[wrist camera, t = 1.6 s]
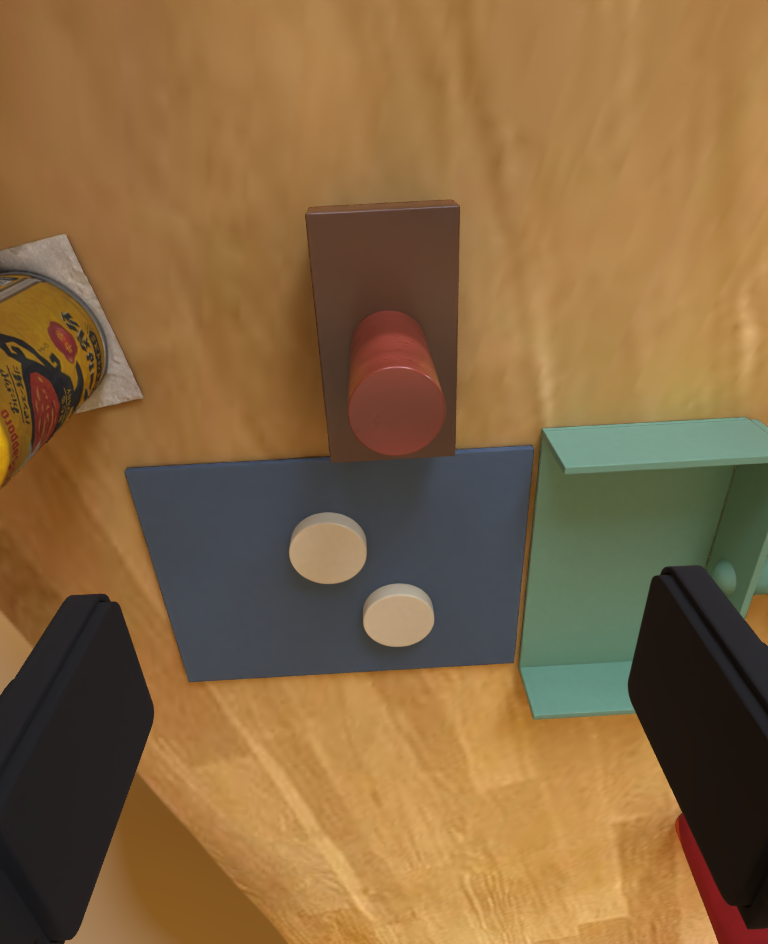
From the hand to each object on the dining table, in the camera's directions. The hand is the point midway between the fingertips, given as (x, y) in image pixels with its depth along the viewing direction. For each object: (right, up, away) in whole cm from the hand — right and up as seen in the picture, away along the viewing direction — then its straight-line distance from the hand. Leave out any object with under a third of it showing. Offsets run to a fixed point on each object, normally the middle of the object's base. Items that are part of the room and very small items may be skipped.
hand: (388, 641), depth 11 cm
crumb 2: (+1, -5, +24) cm, 24 cm away
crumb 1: (-3, -1, +21) cm, 21 cm away
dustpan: (+18, -2, +23) cm, 29 cm away
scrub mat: (-2, -3, +23) cm, 23 cm away
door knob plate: (0, +10, +16) cm, 18 cm away
